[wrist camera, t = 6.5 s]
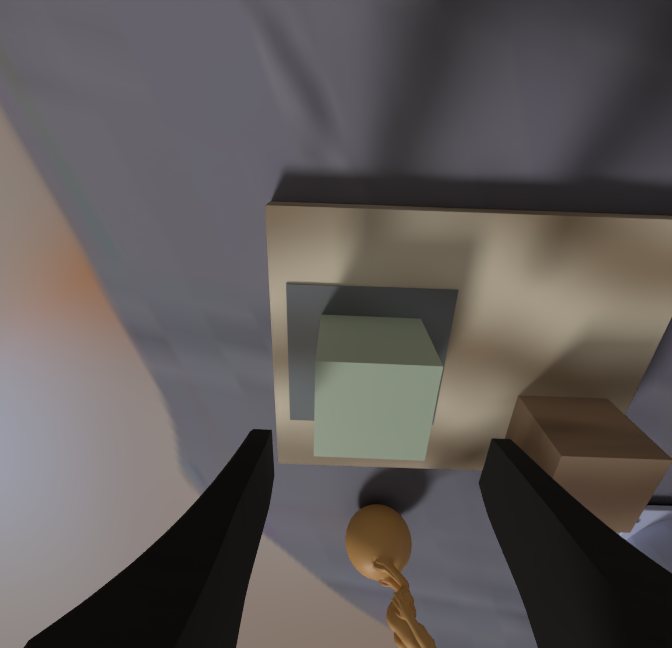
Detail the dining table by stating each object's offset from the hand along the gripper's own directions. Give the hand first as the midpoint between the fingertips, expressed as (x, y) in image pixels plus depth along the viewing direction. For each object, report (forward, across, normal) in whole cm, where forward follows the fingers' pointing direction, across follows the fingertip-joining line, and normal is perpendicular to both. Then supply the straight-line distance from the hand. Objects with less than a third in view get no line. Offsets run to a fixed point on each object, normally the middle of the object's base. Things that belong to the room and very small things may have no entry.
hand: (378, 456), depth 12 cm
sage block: (+6, 0, 0) cm, 6 cm away
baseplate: (+7, -4, 0) cm, 9 cm away
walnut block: (+6, -10, +4) cm, 12 cm away
